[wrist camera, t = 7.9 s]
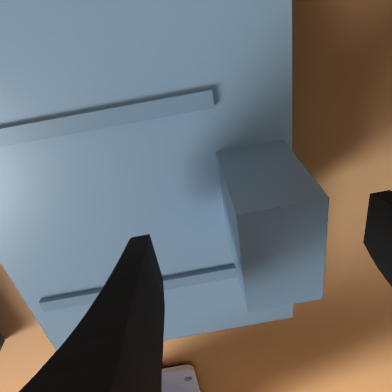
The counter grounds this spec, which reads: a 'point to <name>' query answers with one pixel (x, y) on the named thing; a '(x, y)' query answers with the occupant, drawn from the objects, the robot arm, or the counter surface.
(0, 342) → the grey rectangular tray
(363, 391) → the counter surface
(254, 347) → the counter surface
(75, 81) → the lid
